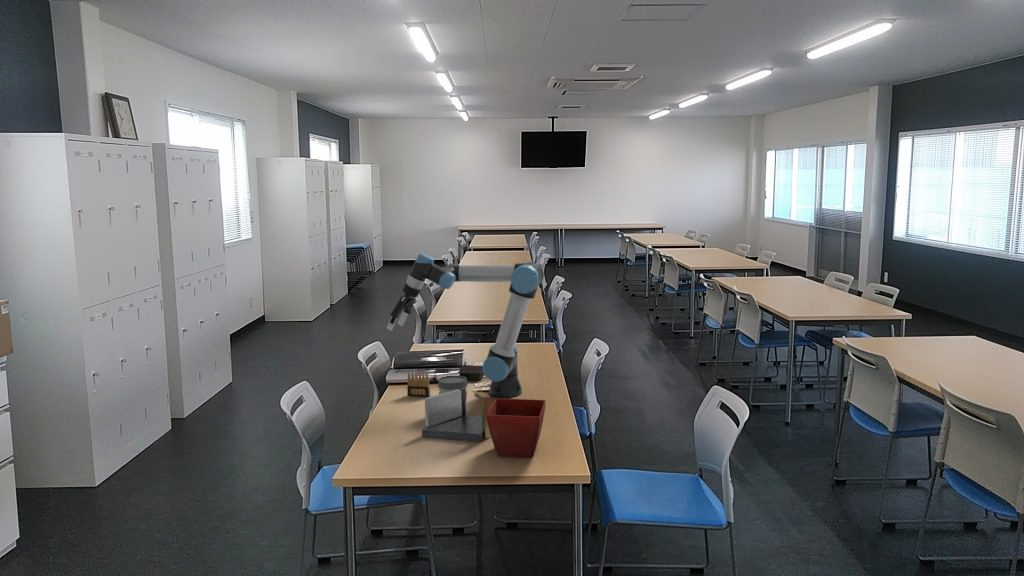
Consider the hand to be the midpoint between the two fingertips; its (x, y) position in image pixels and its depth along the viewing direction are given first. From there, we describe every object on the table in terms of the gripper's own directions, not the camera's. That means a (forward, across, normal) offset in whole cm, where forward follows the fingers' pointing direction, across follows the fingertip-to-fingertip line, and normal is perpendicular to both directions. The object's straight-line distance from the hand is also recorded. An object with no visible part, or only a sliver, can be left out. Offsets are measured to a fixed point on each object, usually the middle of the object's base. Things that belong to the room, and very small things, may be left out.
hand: (394, 327), depth 318 cm
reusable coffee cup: (+16, +16, +44) cm, 50 cm away
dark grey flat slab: (+13, +37, +52) cm, 65 cm away
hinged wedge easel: (+13, +35, +45) cm, 58 cm away
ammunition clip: (+26, -5, +23) cm, 35 cm away
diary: (+20, -41, +32) cm, 56 cm away
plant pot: (+2, +55, +77) cm, 94 cm away
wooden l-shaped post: (+8, +41, +62) cm, 74 cm away
